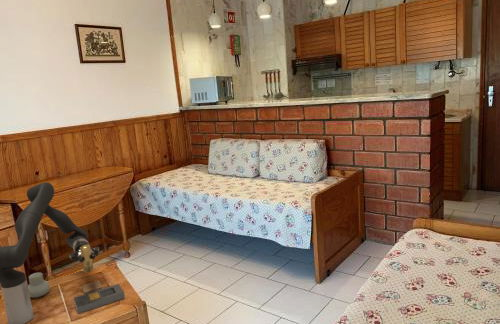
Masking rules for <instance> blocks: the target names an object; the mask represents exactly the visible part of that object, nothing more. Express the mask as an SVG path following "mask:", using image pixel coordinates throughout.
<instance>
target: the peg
mask: <svg viewBox="0 0 500 324" xmlns="http://www.w3.org/2000/svg"><path fill="white" fill-rule="evenodd" d="M89 244H90V243H89ZM89 244H86V245H82V246H80V251H81V256H82V259H83V262H82V263H81V264H82V269H83V273H89V272H92V271H94V264H93V263H94V262H93V259H92V255H91V249H90V246H91V245H89Z"/></svg>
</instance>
